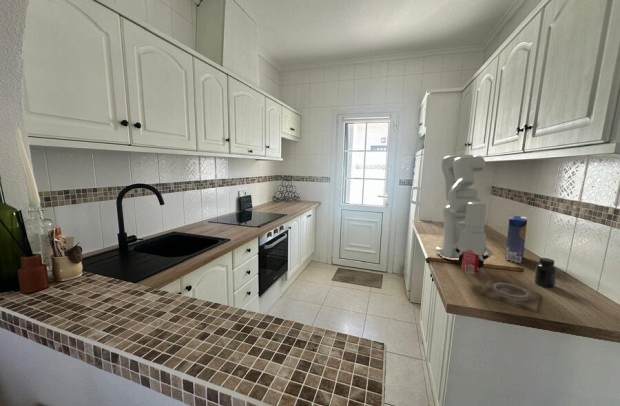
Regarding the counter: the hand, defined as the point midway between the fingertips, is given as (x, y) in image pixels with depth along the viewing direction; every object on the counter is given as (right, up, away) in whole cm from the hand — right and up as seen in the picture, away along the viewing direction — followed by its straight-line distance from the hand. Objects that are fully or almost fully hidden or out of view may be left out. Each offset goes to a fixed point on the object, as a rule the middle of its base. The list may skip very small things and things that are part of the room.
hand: (470, 264), depth 116 cm
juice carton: (+43, -3, +27) cm, 51 cm away
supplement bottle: (+32, -9, -3) cm, 33 cm away
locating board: (+9, -10, -11) cm, 18 cm away
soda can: (0, -3, +1) cm, 3 cm away
